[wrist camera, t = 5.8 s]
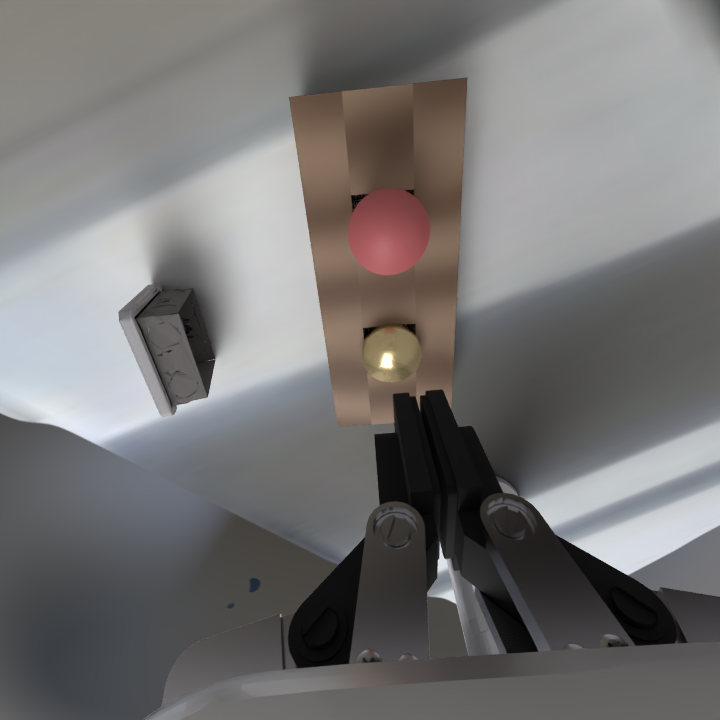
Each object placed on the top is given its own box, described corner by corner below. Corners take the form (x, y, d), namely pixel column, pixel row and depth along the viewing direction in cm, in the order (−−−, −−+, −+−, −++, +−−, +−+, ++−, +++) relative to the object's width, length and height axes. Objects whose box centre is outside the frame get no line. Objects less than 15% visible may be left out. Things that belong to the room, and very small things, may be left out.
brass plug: (411, 348, 34) (421, 379, 29) (363, 352, 35) (364, 384, 29) (411, 301, 32) (421, 325, 27) (358, 306, 32) (358, 331, 27)
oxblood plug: (415, 253, 27) (429, 271, 22) (353, 259, 27) (352, 278, 22) (414, 183, 25) (430, 184, 19) (347, 190, 25) (343, 192, 19)
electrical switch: (150, 281, 31) (89, 316, 23) (206, 276, 32) (166, 308, 23) (183, 368, 36) (141, 423, 28) (232, 363, 36) (205, 415, 28)
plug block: (439, 390, 37) (450, 418, 33) (340, 398, 37) (338, 426, 33) (448, 96, 25) (467, 77, 20) (301, 112, 25) (289, 97, 21)
